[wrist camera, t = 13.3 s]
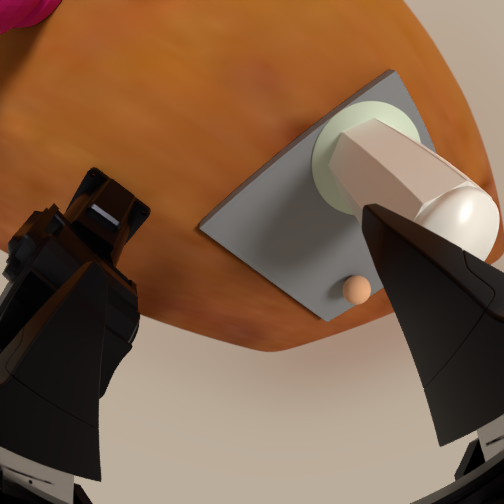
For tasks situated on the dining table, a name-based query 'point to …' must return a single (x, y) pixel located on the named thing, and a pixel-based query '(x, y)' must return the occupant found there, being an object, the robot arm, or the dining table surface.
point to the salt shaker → (413, 185)
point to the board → (312, 205)
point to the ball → (356, 289)
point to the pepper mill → (24, 12)
